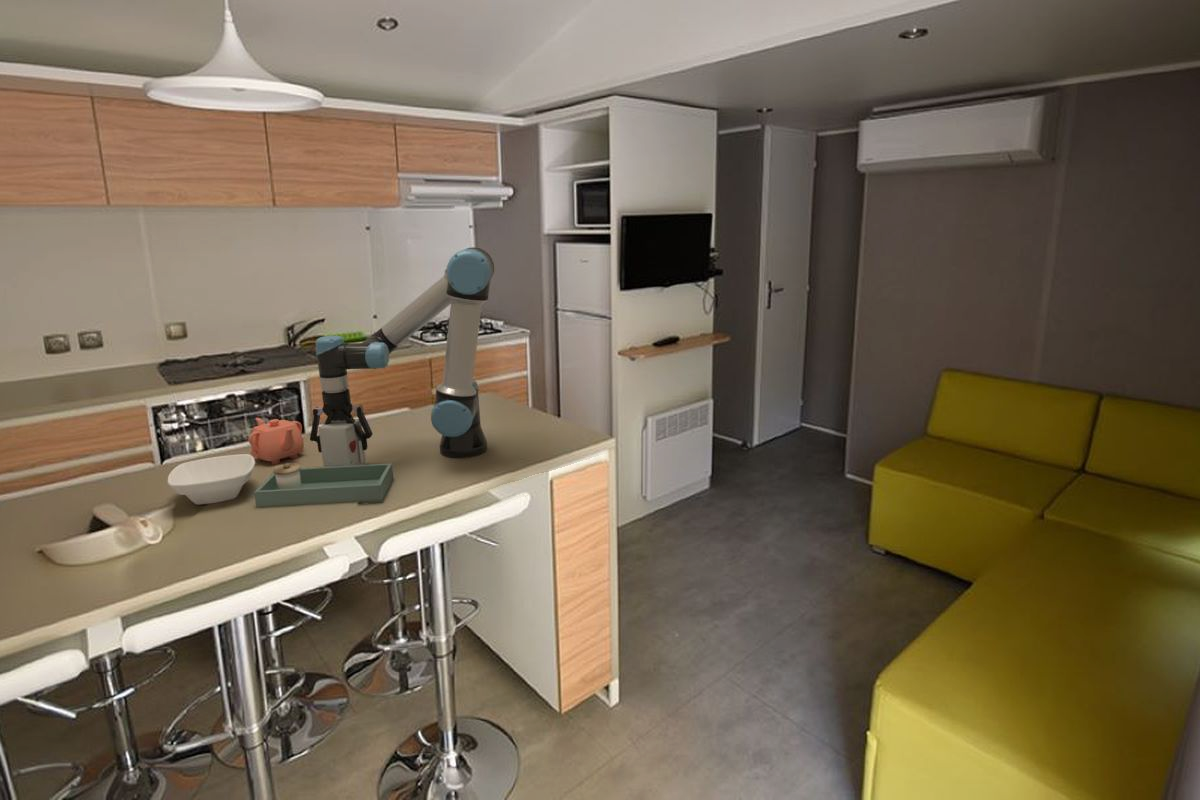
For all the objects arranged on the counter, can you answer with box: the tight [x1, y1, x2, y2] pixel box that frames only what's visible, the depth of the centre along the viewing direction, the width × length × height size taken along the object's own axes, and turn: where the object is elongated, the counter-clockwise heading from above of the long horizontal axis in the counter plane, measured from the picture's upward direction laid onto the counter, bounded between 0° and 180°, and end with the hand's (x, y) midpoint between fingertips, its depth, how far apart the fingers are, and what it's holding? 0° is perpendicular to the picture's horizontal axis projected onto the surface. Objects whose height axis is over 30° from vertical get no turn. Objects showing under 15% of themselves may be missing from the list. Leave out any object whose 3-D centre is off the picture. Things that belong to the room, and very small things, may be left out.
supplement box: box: [318, 418, 367, 467], centre depth 200 cm, size 9×9×15 cm
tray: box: [253, 462, 395, 508], centre depth 184 cm, size 32×16×5 cm, turn 96°
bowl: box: [167, 453, 256, 505], centre depth 183 cm, size 21×21×9 cm
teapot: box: [247, 417, 305, 465], centre depth 211 cm, size 15×17×13 cm
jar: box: [275, 470, 302, 489], centre depth 183 cm, size 6×6×7 cm
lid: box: [272, 462, 302, 475], centre depth 181 cm, size 7×7×2 cm
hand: (344, 461), depth 201 cm, fingers closed on supplement box, 10 cm apart
